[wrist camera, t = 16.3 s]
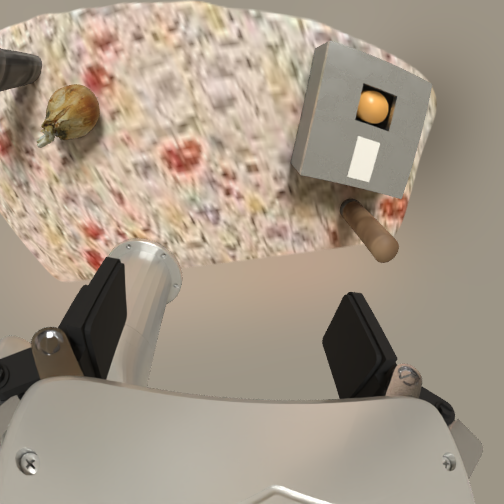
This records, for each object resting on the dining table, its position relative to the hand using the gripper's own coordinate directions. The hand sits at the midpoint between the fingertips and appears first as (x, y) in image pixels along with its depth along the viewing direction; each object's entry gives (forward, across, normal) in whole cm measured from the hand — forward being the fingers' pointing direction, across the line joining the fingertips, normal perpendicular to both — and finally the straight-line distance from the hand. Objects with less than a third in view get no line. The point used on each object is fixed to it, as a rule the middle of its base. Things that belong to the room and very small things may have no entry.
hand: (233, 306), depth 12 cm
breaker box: (+28, -14, -10) cm, 33 cm away
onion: (+28, +22, -5) cm, 36 cm away
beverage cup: (+28, +33, -12) cm, 45 cm away
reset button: (+26, -14, -12) cm, 32 cm away
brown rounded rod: (+28, -18, +3) cm, 33 cm away
